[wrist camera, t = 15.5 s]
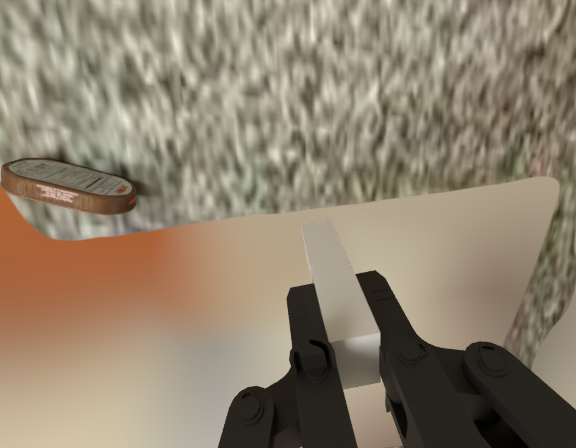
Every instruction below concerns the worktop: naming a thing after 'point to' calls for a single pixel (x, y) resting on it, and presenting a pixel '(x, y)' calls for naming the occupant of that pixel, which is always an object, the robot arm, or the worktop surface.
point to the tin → (68, 186)
